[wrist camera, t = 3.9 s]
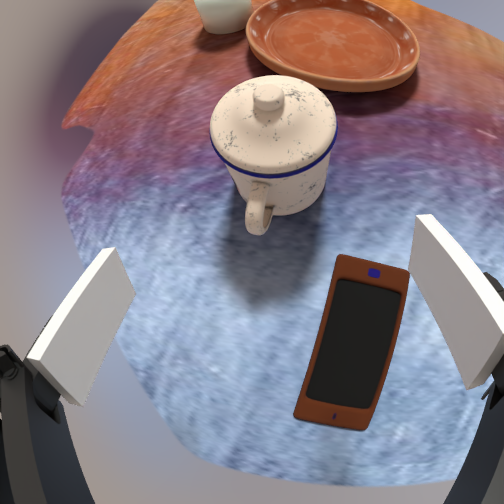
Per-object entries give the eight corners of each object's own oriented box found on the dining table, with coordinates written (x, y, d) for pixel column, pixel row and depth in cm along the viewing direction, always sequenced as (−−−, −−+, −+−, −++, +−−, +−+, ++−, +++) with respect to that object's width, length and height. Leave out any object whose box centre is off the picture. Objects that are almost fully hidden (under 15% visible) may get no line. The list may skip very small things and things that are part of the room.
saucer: (443, 96, 27) (453, 78, 23) (273, 116, 29) (269, 94, 25) (368, 6, 32) (370, -10, 29) (236, 20, 34) (232, 2, 31)
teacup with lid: (247, 130, 29) (221, 48, 17) (333, 144, 27) (346, 58, 16) (214, 238, 27) (158, 187, 16) (312, 260, 25) (324, 216, 14)
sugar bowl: (252, 6, 34) (245, -27, 28) (256, 29, 33) (248, -9, 26) (205, 15, 36) (193, -16, 29) (202, 38, 34) (189, 3, 27)
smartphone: (412, 270, 23) (367, 432, 20) (408, 272, 24) (365, 428, 21) (337, 252, 24) (291, 418, 22) (336, 254, 25) (292, 415, 23)
